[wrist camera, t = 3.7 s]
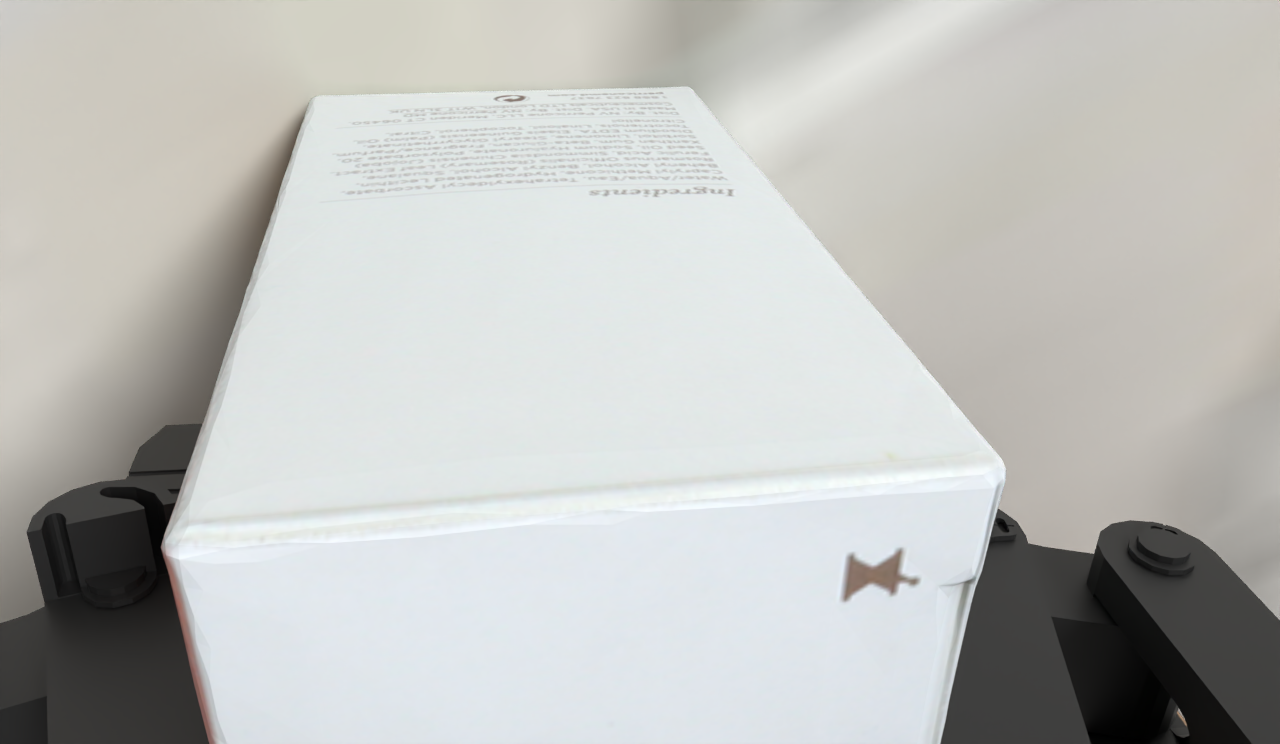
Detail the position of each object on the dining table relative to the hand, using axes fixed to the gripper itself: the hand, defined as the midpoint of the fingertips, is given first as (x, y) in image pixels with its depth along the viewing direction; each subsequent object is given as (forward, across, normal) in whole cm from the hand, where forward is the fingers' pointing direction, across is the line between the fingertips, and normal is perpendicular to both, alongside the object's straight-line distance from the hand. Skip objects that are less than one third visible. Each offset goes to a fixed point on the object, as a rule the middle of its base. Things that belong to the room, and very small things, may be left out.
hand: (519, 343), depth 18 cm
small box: (+1, 0, 0) cm, 1 cm away
